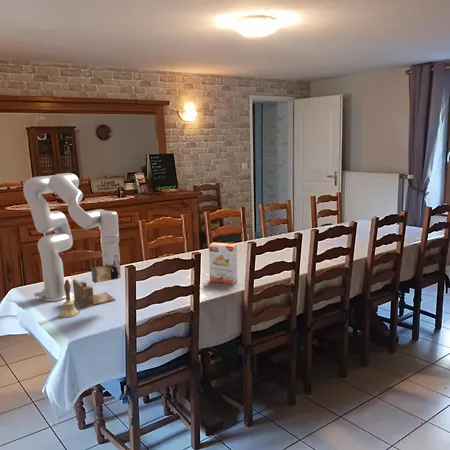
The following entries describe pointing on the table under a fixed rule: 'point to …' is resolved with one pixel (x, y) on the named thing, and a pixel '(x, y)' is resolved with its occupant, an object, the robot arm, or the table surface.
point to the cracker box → (223, 262)
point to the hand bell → (68, 303)
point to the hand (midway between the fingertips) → (112, 277)
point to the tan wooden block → (102, 273)
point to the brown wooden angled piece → (88, 295)
